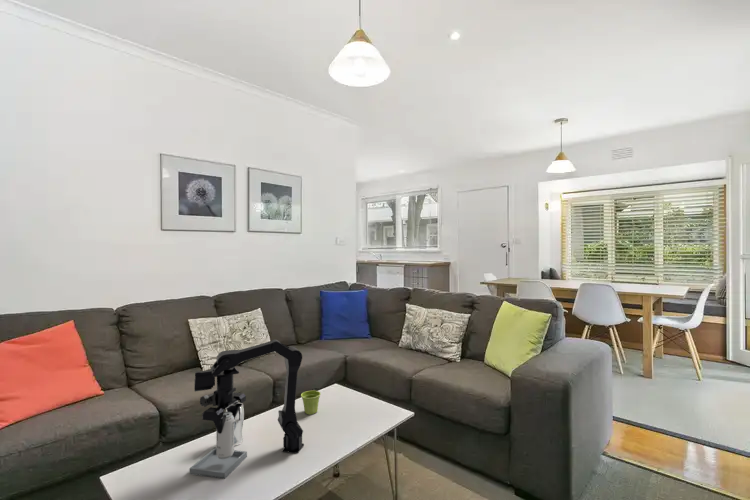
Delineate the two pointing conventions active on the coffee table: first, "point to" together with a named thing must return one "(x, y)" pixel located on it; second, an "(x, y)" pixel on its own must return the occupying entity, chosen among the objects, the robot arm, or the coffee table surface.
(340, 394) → the coffee table surface
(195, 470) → the blue-gray tray
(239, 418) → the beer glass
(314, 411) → the plant pot
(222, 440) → the energy drink can
